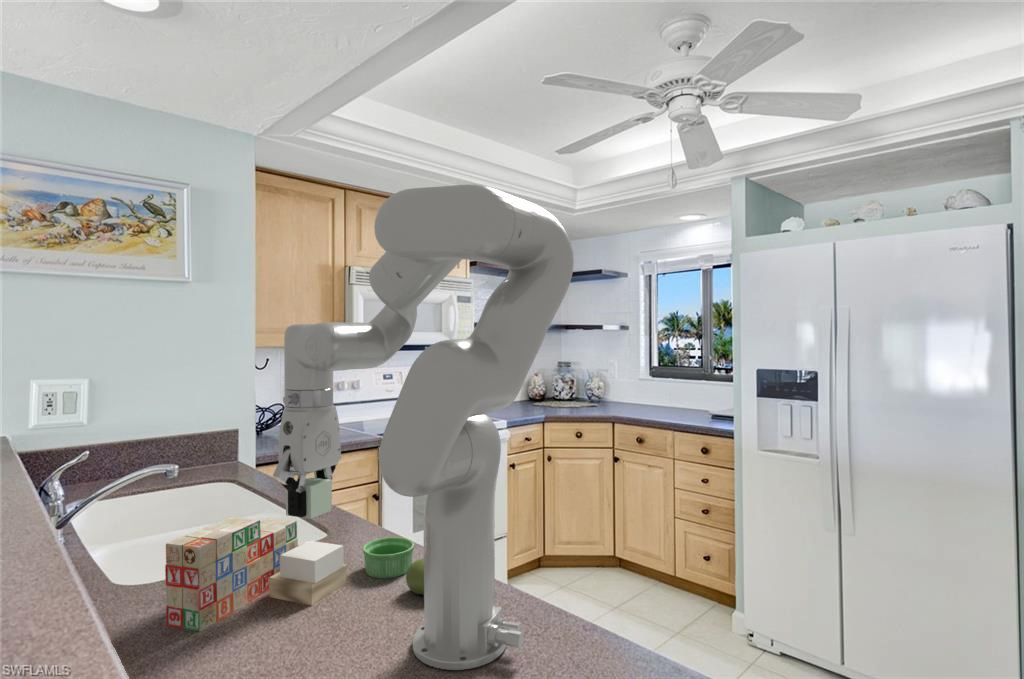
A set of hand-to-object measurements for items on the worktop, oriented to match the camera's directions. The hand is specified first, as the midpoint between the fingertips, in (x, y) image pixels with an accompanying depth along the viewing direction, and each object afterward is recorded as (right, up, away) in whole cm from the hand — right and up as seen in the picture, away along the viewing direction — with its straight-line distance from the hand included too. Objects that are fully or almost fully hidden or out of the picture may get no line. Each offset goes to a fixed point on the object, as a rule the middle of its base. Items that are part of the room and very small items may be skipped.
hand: (309, 509), depth 92 cm
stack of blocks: (-11, -14, -2) cm, 18 cm away
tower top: (0, -10, 0) cm, 10 cm away
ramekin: (+11, -14, +9) cm, 20 cm away
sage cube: (0, -1, 0) cm, 1 cm away
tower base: (0, -14, +1) cm, 14 cm away
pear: (+21, -14, -2) cm, 25 cm away
